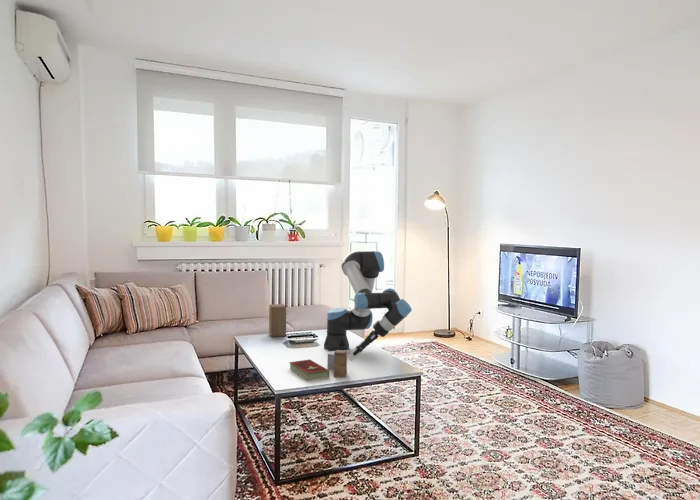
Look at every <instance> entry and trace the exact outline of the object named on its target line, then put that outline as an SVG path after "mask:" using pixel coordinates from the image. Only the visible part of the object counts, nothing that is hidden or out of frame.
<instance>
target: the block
mask: <svg viewBox="0 0 700 500" xmlns="http://www.w3.org/2000/svg"><path fill="white" fill-rule="evenodd" d="M268 309H269V310H268V317H269V318H268V333H269V336H270V337H271V338H279V337H280V338H281V337H286V336H287V306H286V305H285V304H284V303H280V304H279V303H277V304H273V303H272V304H269V307H268Z"/></svg>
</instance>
